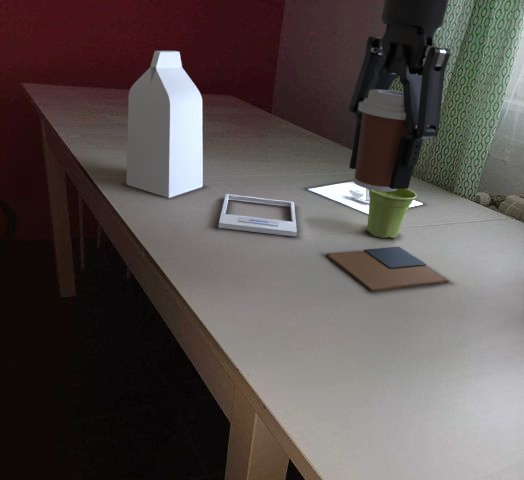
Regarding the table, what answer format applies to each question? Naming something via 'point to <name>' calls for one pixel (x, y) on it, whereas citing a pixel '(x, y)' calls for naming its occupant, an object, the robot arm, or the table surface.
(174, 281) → the table surface
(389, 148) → the coffee cup
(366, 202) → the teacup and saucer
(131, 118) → the milk
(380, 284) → the placemat
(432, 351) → the table surface
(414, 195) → the plant pot
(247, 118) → the table surface
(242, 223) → the photo frame
